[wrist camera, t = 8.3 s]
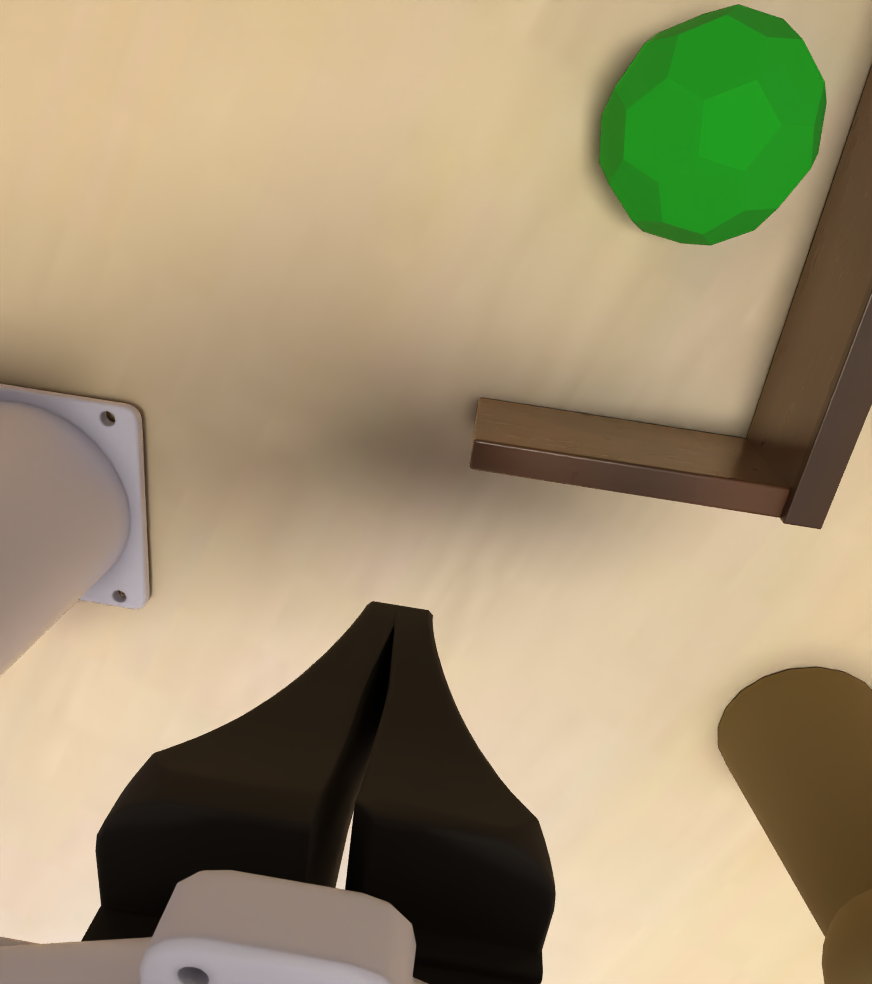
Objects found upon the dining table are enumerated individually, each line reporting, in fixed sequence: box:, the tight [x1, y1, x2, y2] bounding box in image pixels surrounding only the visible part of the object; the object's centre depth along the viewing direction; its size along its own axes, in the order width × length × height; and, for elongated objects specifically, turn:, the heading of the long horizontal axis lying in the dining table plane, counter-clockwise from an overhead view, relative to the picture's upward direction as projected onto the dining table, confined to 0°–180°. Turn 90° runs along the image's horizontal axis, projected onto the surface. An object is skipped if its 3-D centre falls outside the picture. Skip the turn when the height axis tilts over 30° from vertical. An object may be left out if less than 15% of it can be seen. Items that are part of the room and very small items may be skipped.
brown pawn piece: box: [718, 667, 872, 984], centre depth 22 cm, size 6×6×11 cm
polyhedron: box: [599, 4, 826, 245], centre depth 17 cm, size 5×5×5 cm
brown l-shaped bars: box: [469, 67, 872, 529], centre depth 17 cm, size 10×18×4 cm, turn 173°
